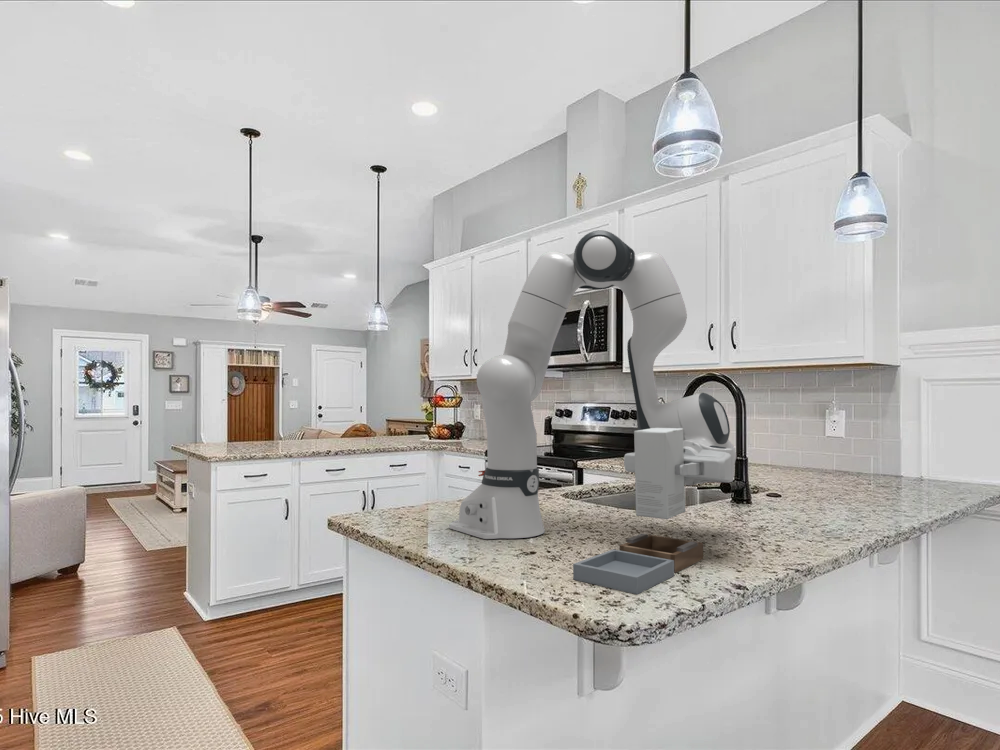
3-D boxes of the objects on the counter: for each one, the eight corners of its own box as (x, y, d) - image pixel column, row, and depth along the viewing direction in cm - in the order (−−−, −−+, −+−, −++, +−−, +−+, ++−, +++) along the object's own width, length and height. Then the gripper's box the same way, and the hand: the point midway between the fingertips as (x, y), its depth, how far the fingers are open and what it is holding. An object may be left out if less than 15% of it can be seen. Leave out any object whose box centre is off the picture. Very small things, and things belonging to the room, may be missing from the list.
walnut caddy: (618, 561, 108) (618, 541, 108) (649, 549, 117) (649, 531, 117) (676, 573, 101) (675, 551, 101) (704, 559, 110) (703, 539, 110)
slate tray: (573, 579, 98) (573, 563, 98) (613, 563, 107) (613, 549, 108) (637, 594, 90) (636, 577, 90) (674, 575, 100) (674, 560, 100)
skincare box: (655, 509, 115) (652, 427, 115) (688, 512, 110) (685, 428, 111) (634, 516, 108) (631, 429, 109) (668, 520, 104) (665, 430, 105)
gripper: (642, 443, 126) (608, 448, 116) (741, 448, 113) (712, 454, 103) (643, 473, 126) (608, 481, 116) (741, 482, 113) (712, 491, 102)
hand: (657, 468), depth 109 cm, fingers closed on skincare box, 6 cm apart
